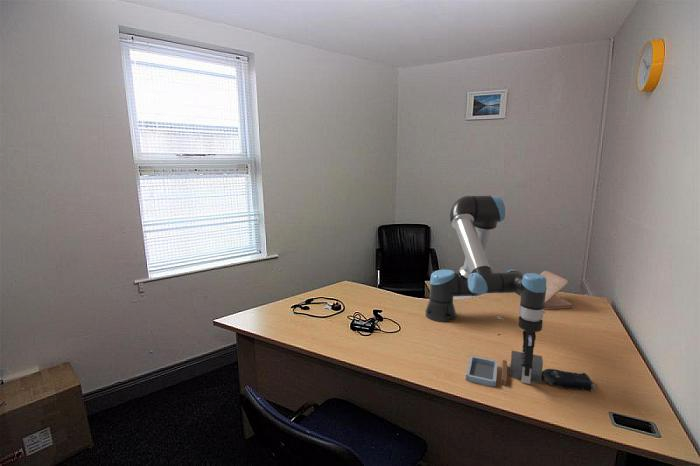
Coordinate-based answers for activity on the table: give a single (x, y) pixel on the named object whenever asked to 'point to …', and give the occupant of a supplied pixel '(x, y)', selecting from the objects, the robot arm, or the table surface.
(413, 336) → the table surface
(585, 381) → the electronic device
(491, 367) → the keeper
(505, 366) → the door edge strip
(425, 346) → the table surface
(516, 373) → the grey block with knob
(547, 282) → the case
